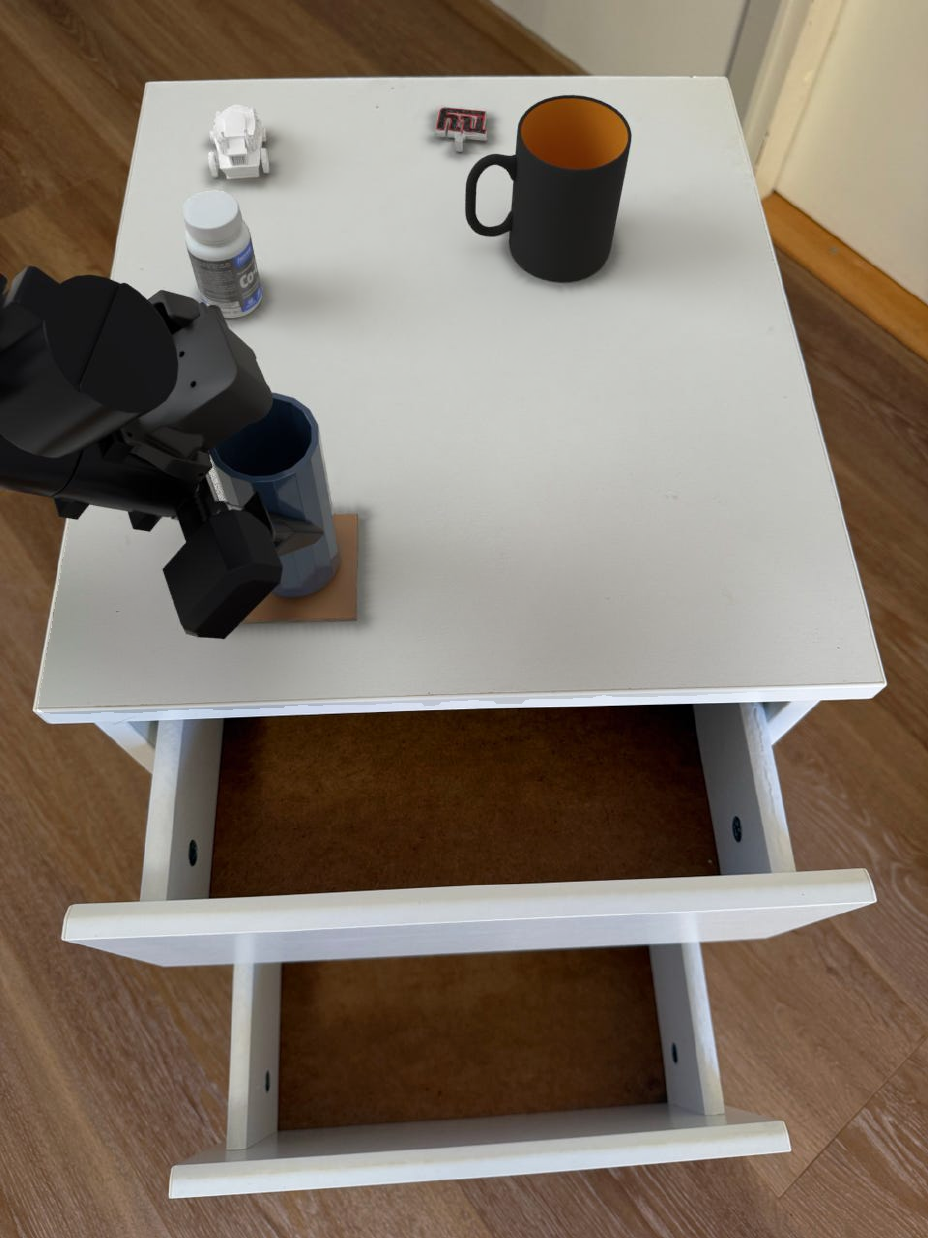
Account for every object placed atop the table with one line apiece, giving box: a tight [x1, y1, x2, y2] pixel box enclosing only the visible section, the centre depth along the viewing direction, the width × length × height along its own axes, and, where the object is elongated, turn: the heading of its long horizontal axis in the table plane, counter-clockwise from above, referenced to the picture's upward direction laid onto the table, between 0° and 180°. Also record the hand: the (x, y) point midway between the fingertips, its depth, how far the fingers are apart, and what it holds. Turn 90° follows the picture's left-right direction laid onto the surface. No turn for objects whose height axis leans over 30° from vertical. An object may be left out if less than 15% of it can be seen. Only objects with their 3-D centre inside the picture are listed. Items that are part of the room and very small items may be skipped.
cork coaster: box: [240, 513, 359, 624], centre depth 65 cm, size 8×8×1 cm
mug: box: [464, 94, 633, 283], centre depth 75 cm, size 8×12×10 cm
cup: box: [208, 391, 340, 597], centre depth 59 cm, size 6×6×13 cm
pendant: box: [434, 106, 488, 153], centre depth 85 cm, size 4×1×5 cm
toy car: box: [207, 104, 270, 180], centre depth 82 cm, size 5×8×4 cm, turn 8°
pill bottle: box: [182, 189, 263, 319], centre depth 73 cm, size 5×5×8 cm
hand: (302, 494), depth 59 cm, fingers closed on cup, 6 cm apart
